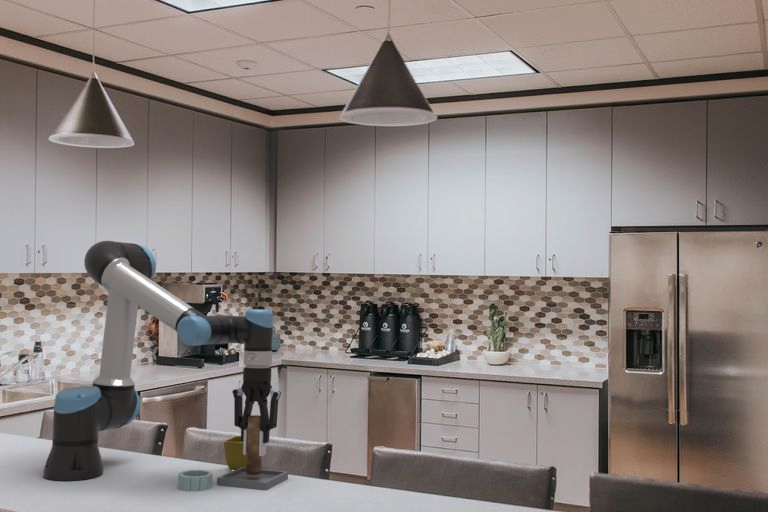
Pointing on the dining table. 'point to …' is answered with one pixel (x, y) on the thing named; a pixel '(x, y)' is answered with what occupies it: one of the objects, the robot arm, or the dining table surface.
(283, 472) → the tray
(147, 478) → the dining table surface
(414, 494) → the dining table surface
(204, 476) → the crock
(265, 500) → the dining table surface
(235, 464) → the flower pot
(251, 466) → the cylinder
